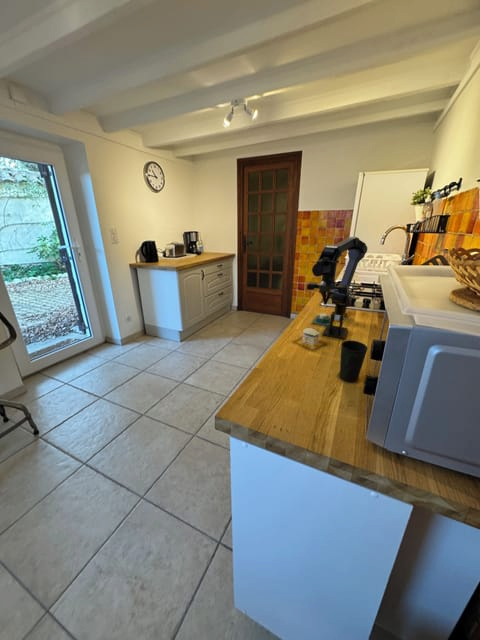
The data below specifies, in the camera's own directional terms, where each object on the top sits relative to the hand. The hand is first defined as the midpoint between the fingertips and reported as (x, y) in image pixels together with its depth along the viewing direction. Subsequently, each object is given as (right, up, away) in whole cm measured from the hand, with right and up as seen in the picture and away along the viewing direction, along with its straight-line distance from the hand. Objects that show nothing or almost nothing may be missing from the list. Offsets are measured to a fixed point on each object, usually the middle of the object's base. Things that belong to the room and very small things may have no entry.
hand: (325, 304), depth 126 cm
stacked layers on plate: (-13, -18, -17) cm, 28 cm away
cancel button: (0, -7, +3) cm, 7 cm away
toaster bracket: (+2, -14, -9) cm, 17 cm away
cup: (-6, -27, -41) cm, 49 cm away
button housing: (0, -9, +4) cm, 10 cm away
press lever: (+4, -8, -7) cm, 12 cm away
